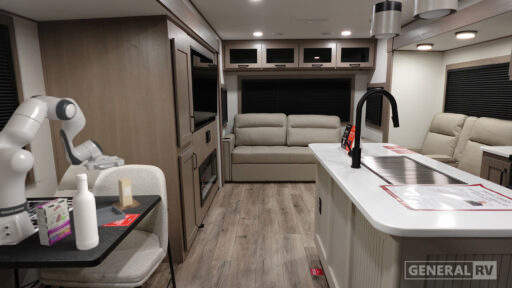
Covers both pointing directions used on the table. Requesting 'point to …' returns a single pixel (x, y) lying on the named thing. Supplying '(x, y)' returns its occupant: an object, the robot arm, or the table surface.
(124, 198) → the parts box
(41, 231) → the candy bar box
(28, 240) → the table surface
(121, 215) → the parts bin
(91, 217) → the bottle
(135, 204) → the walnut board
